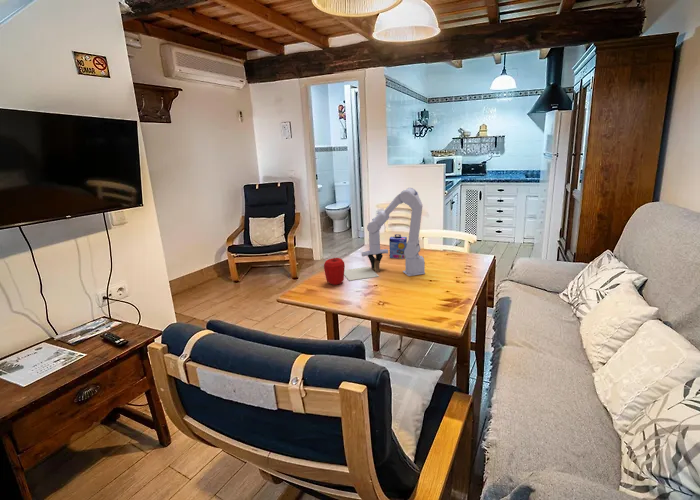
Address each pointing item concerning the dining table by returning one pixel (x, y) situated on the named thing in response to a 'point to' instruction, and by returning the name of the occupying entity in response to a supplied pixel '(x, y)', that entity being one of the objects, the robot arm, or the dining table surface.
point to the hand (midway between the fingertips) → (375, 267)
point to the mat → (359, 273)
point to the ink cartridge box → (397, 246)
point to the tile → (376, 265)
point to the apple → (334, 270)
